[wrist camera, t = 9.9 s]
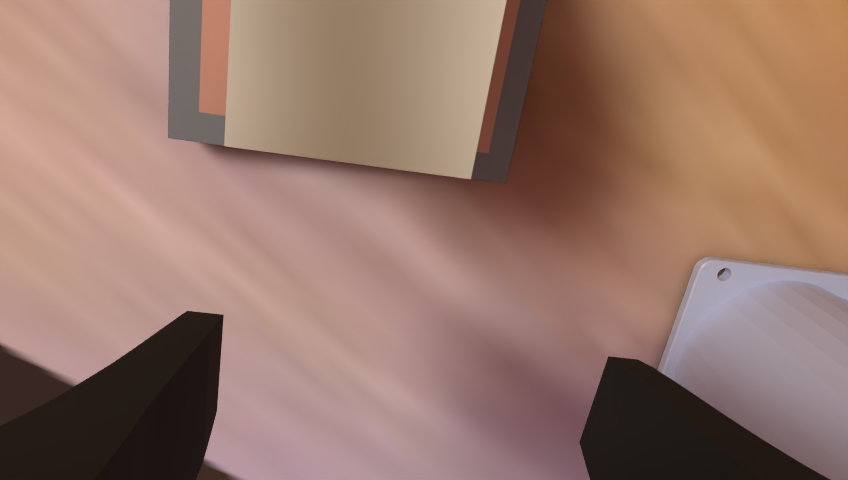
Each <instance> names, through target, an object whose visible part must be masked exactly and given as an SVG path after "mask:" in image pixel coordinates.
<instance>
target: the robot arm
mask: <svg viewBox="0 0 848 480" xmlns="http://www.w3.org/2000/svg"><path fill="white" fill-rule="evenodd" d="M723 268H725V271H724V273H723V274H722V275H720V276H717V274H718V272H719V271H720V270H721V269H723ZM222 329H223V315H219V314H210V313H201V312H192V311H187V312H185V313H184V314H182V315H181V316H179V317H178V318H176V319H175V320H174V321H172V322H171V323H169V324H168V325H166V326H165V327H164V328H162V329H161V330H159V331H158V332H157V333H155V334H154V335H152V336H151V337H150V338H148V339H147V340H145V341H144V342H143V343H141V344H140V345H138V346H137V347H136V348H134V349H133V350H131V351H130V352H128V353H127V354H125V355H124V356H122V357H121V358H119V359H118V360H116V361H115V362H113V363H112V364H111V365H109V366H107V367H106V368H104V369H102V370H101V371H99V372H98V373H96V374H94V375H93V376H91V377H89V378H88V379H86V380H84V381H83V382H81V383H79V384H78V385H76V386H74V387H73V388H71V389H70V390H68V391H66V392H65V393H63V394H61V395H60V396H58V397H56V398H54V399H52V400H50V401H49V402H47V403H45V404H43V405H41V406H39V407H37V408H35V409H34V410H32V411H30V412H28V413H26V414H24V415H22V416H20V417H18V418H16V419H13V420H11V421H9V422H7V423H5V424H3V425H1V426H0V480H196V478H197V476H198V473H199V470H200V468H201V466H202V463H203V460H204V456H205V453H206V449H207V446H208V442H209V438H210V435H211V431H212V427H213V423H214V420H215V416H216V412H217V400H218V386H219V372H220V358H221V343H222ZM580 445H581V449H582V452H583V456H584V460H585V463H586V467H587V470H588V473H589V477H590V480H848V273H841V272H833V271H824V270H816V269H808V268H800V267H792V266H784V265H775V264H767V263H759V262H751V261H743V260H734V259H726V258H718V257H705V258H703V259H701V260H699V261H698V262H697V263H696V265H695V267H694V269H693V272H692V275H691V278H690V280H689V283H688V286H687V289H686V291H685V294H684V297H683V300H682V303H681V305H680V308H679V311H678V314H677V317H676V319H675V322H674V325H673V328H672V331H671V333H670V336H669V339H668V342H667V344H666V347H665V350H664V353H663V356H662V358H661V361H660V364H659V367H658V370H656V369H654V368H653V367H651V366H649V365H647V364H645V363H643V362H641V361H639V360H636V359H626V358H617V357H608V360H607V363H606V366H605V368H604V371H603V374H602V377H601V380H600V383H599V386H598V389H597V392H596V395H595V398H594V401H593V404H592V407H591V410H590V413H589V416H588V419H587V422H586V425H585V428H584V431H583V434H582V437H581V440H580Z"/></svg>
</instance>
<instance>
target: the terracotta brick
mask: <svg viewBox="0 0 848 480" xmlns="http://www.w3.org/2000/svg"><path fill="white" fill-rule="evenodd" d="M519 4H520V0H507V1H506V6H505V11H504V16H503V21H502V26H501V31H500V36H499V41H498V46H497V51H496V56H495V61H494V66H493V71H492V76H491V81H490V86H489V91H488V96H487V101H486V106H485V111H484V116H483V121H482V126H481V131H480V136H479V141H478V146H477V151H476V152H482V153H489V148H490V143H491V138H492V133H493V129H494V124H495V119H496V114H497V109H498V105H499V100H500V95H501V90H502V85H503V81H504V76H505V71H506V66H507V62H508V57H509V52H510V47H511V42H512V38H513V33H514V28H515V23H516V18H517V14H518V9H519ZM230 13H231V0H202V32H201V63H200V94H199V112H203V113H210V114H217V115H224V116H226V98H227V76H228V55H229V34H230Z"/></svg>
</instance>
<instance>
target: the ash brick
mask: <svg viewBox="0 0 848 480" xmlns="http://www.w3.org/2000/svg"><path fill="white" fill-rule="evenodd" d="M506 1H507V0H231V13H230V34H229V55H228V76H227V98H226V119H225V140H224V146H227V147H234V148H242V149H249V150H256V151H264V152H271V153H279V154H286V155H294V156H301V157H308V158H316V159H323V160H331V161H338V162H346V163H353V164H360V165H368V166H375V167H383V168H390V169H398V170H405V171H412V172H420V173H427V174H435V175H442V176H450V177H457V178H465V179H471V176H472V171H473V166H474V161H475V156H476V151H477V146H478V141H479V136H480V131H481V126H482V121H483V116H484V111H485V106H486V101H487V96H488V91H489V86H490V81H491V76H492V71H493V66H494V61H495V56H496V51H497V46H498V41H499V36H500V31H501V26H502V21H503V16H504V11H505V6H506Z"/></svg>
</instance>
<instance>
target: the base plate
mask: <svg viewBox="0 0 848 480" xmlns="http://www.w3.org/2000/svg"><path fill="white" fill-rule="evenodd" d="M546 1H547V0H520V4H519V9H518V14H517V18H516V23H515V28H514V33H513V38H512V42H511V47H510V52H509V57H508V62H507V66H506V71H505V76H504V81H503V85H502V90H501V95H500V100H499V105H498V109H497V114H496V119H495V124H494V129H493V133H492V138H491V143H490V148H489V153H482V152H476V156H475V161H474V166H473V171H472V176H471V179H475V180H482V181H490V182H497V183H505V184H506V181H507V176H508V172H509V167H510V163H511V158H512V154H513V149H514V145H515V140H516V136H517V131H518V127H519V122H520V118H521V113H522V109H523V104H524V100H525V95H526V91H527V87H528V82H529V78H530V73H531V69H532V64H533V60H534V55H535V51H536V46H537V42H538V37H539V33H540V28H541V24H542V19H543V15H544V10H545V6H546ZM201 32H202V0H170V32H169V106H168V138H172V139H179V140H186V141H194V142H201V143H209V144H216V145H223V146H224V140H225V119H226V116H224V115H217V114H210V113H203V112H199V94H200V63H201Z"/></svg>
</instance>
